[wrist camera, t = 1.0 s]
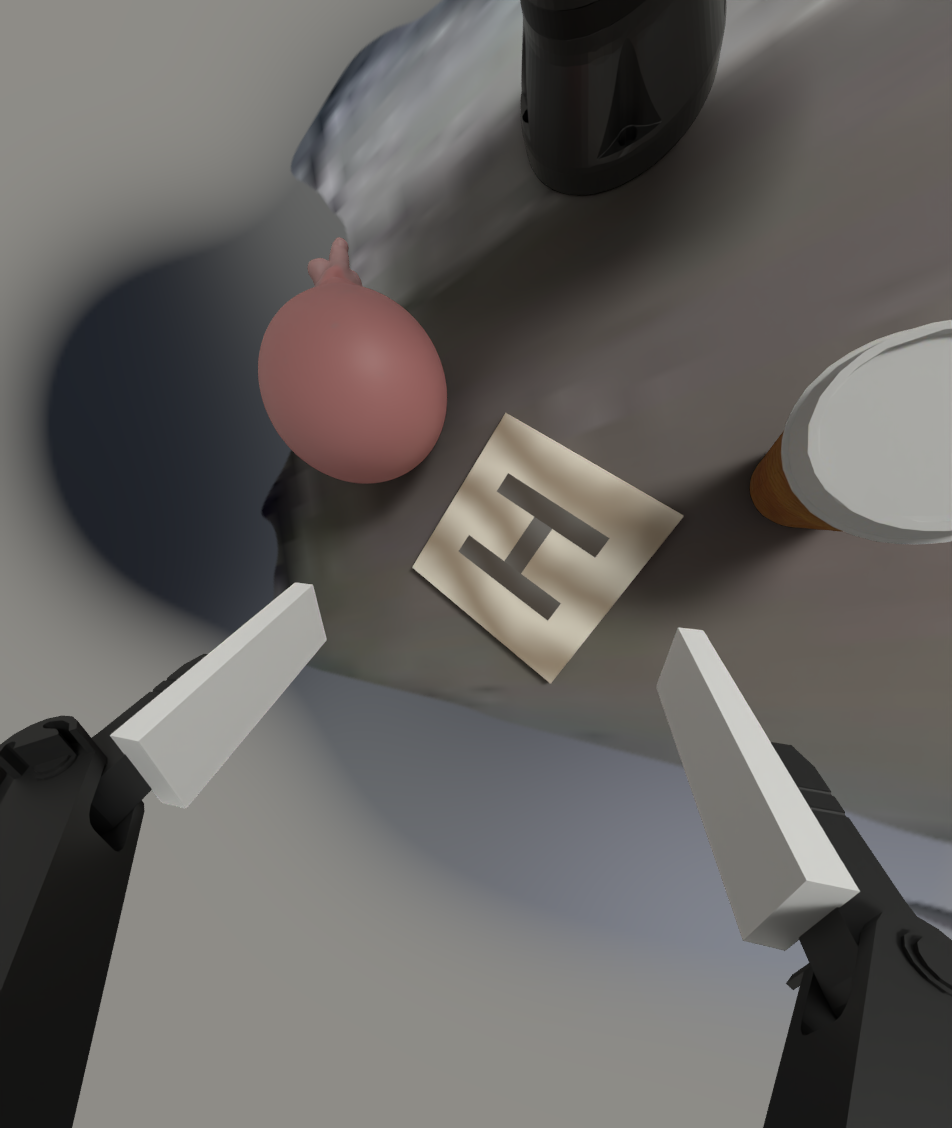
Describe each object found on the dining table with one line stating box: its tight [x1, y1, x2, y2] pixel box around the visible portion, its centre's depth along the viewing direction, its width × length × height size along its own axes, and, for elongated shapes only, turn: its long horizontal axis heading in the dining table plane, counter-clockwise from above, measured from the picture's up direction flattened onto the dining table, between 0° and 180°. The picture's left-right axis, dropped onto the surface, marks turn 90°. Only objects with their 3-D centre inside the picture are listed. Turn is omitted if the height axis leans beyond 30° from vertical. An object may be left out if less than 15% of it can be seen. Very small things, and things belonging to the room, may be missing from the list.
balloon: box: [258, 237, 447, 484], centre depth 31 cm, size 15×20×15 cm
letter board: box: [412, 413, 684, 684], centre depth 33 cm, size 18×18×1 cm
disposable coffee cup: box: [750, 320, 952, 544], centre depth 20 cm, size 10×10×12 cm
